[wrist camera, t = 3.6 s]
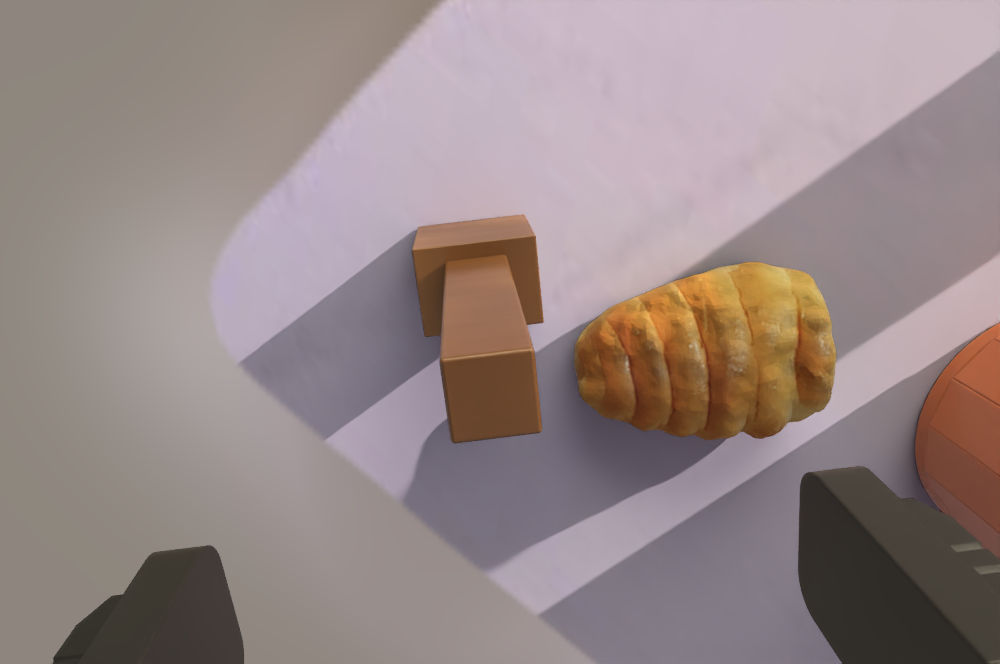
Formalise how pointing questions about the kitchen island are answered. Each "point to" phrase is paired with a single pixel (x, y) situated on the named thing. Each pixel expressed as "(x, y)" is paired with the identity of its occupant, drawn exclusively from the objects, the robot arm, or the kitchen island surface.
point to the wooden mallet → (483, 322)
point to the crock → (965, 440)
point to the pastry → (712, 354)
